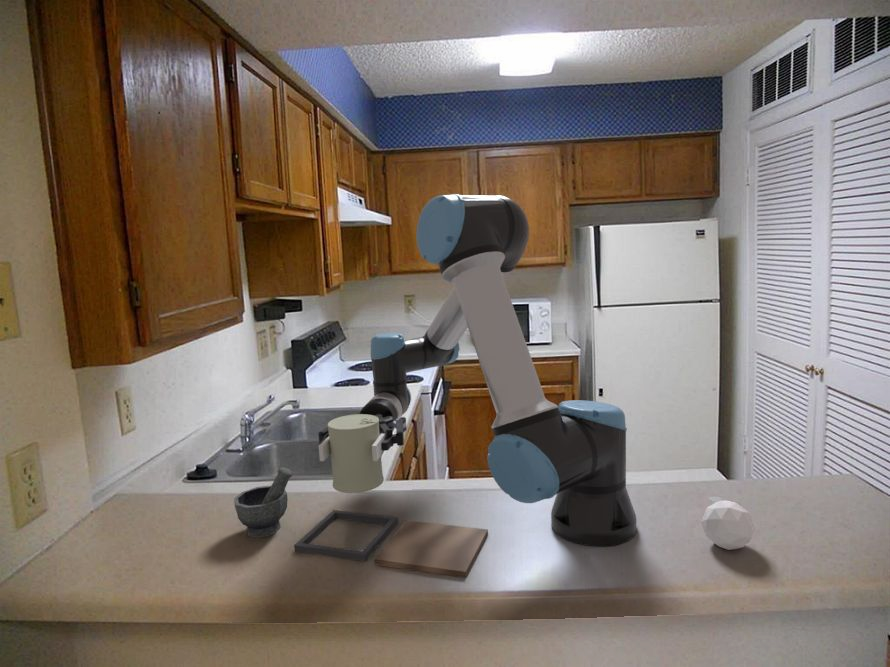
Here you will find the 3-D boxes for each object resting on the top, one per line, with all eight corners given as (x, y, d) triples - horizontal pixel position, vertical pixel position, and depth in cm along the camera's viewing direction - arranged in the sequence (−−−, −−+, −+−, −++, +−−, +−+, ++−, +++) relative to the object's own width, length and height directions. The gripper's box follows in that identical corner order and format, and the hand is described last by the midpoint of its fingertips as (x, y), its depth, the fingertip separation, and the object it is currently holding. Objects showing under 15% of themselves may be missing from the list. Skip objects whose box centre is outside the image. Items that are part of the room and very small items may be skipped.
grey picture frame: (398, 522, 109) (397, 516, 109) (365, 561, 96) (364, 554, 96) (334, 515, 114) (333, 509, 114) (294, 551, 101) (293, 545, 101)
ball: (720, 565, 94) (693, 533, 93) (717, 528, 101) (692, 497, 99) (766, 555, 90) (739, 521, 89) (760, 516, 97) (735, 484, 95)
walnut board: (487, 534, 103) (487, 529, 103) (465, 577, 90) (465, 571, 90) (406, 525, 108) (406, 520, 108) (374, 564, 95) (374, 559, 95)
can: (374, 494, 98) (369, 427, 96) (324, 492, 99) (318, 426, 98) (389, 473, 107) (385, 411, 105) (343, 472, 108) (338, 411, 107)
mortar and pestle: (232, 544, 105) (224, 483, 103) (242, 521, 114) (236, 464, 112) (294, 537, 106) (288, 476, 104) (300, 515, 115) (294, 458, 113)
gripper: (432, 431, 119) (410, 474, 96) (333, 432, 122) (290, 474, 100) (429, 396, 117) (407, 432, 95) (330, 398, 121) (286, 433, 98)
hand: (347, 453), depth 97 cm, fingers closed on can, 9 cm apart
